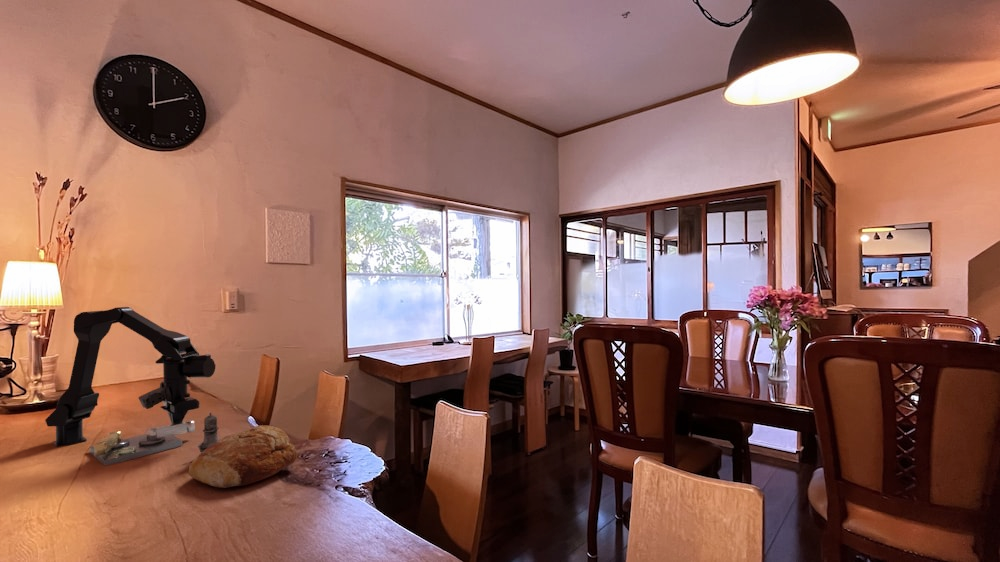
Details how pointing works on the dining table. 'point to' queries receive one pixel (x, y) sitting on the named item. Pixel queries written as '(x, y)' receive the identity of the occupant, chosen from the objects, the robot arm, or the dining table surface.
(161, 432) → the silver lever handle
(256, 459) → the bread
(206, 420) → the salt shaker
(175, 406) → the robot arm
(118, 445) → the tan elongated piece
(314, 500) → the dining table surface
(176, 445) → the plate
